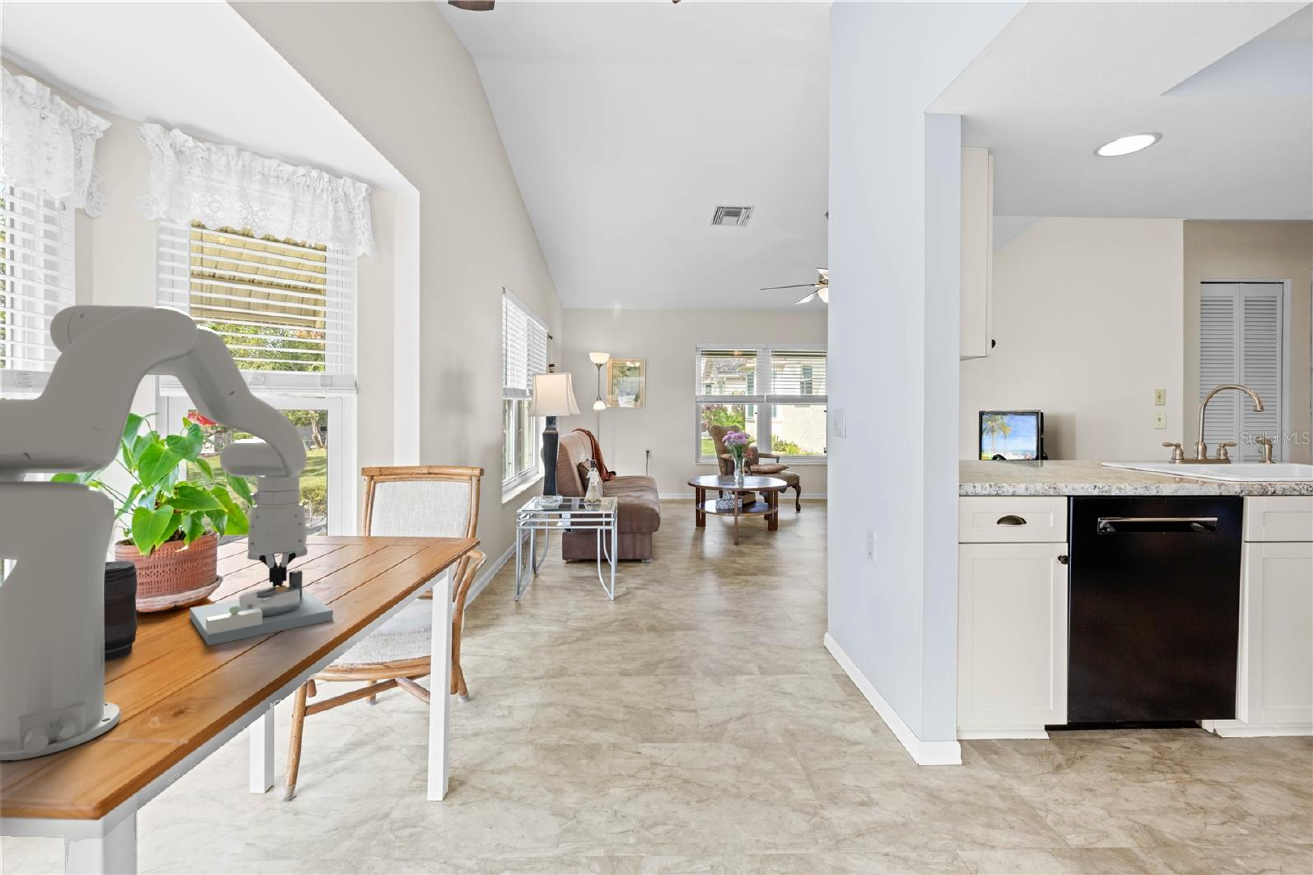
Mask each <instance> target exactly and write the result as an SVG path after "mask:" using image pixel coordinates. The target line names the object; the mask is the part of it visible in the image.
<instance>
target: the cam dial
mask: <svg viewBox="0 0 1313 875" xmlns="http://www.w3.org/2000/svg"><path fill="white" fill-rule="evenodd" d="M302 589H303V570H291V571H289V572H288V586H287V585H286V584H285V585H283V584H282V586H276V587H273V586H272V587H265V588H258V589H255V590H250V591H247V592H245V593H242V594H240V595H239V597H238V600H239V607H240V611H246V610H252V609H257V608H259V609H260V610H262V617H263V616H272V615H278V614H282V613H286V612H289V611H292V610H295V609H296V608H298V607H299V606H300V597H301V596H302ZM240 611H239V612H240Z"/></svg>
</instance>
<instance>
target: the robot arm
mask: <svg viewBox="0 0 1313 875" xmlns="http://www.w3.org/2000/svg"><path fill="white" fill-rule="evenodd" d="M49 334H50V338H51V341H52V343H53V344H54V346H55V347H56V348H57V350H58V351H59V352H60V355H59V357H58V358H57V360H56V361H55V363H54V366H53V369H52V371H51V374H50V375H49V378H48V381H47V383H46V386H45V387H44V389H43V391H42V393H41V395H40V396H38V397H37V398H33V399H29V398H27V399H21V398H20V399H19V398H17V399H16V398H14V399H13V398H11V399H10V398H7V399H0V560H8V561H9V560H11V561H15V562H16V563H15V564H14V567H13V568H12V569H11V571H10V572H9V574H8V575H7V577H6V578H5V579H4V581H3V582H2V584H1V585H0V760H12V761H19V760H27V759H32V758H37V757H41V756H46V755H50V754H53V753H57V752H60V751H64V750H67V749H70V748H73V747H76V746H78V745H81V744H84V743H85V742H88V741H91V740H93V739H95V738H97V737H99V736H101V735H103V734H105V733H107V732H108V731H109V730H111V729H112V728H113V727H115V725H117V724H118V723H119V721H120V719H121V716H122V715H121V708H120V706H118V705H117V704H115V703H111V702H107V701H106V702H105V661H104V574H105V563H106V562H107V557H108V556H107V555H108V551H109V547H110V546H109V545H110V542H111V539H112V535H113V530H114V526H115V525H114V524H115V517H116V511H115V507H114V504H113V502H112V500H111V499H110V497H109V496H108V495H107V494H105V492H104V491H102V490H100V489H99V488H97V487H95V486H91V485H88V484H85V483H79V482H73V481H58V480H57V481H55V480H53V481H51V480H50V481H49V480H48V481H47V480H43V481H42V480H39V481H38V480H37V481H35V480H31V481H30V480H25V477H26V476H27V474H77V473H78V474H84V473H92V472H98V471H100V470H103V469H105V468H107V467H108V466H109V465H111V464H112V463H113V461H114V459H115V458H116V456H117V454H118V452H119V450H120V447H121V443H122V440H123V437H124V433H125V431H126V427H127V423H128V419H129V416H130V413H131V409H132V406H133V402H134V399H135V397H136V393H137V390H138V388H139V385H140V384H141V381H142V380H143V379H144V377H146V376H148V375H149V376H173V377H176V378H177V380H178V381H179V383H180V384H181V386H182V387H183V389H184V391H185V392H186V393H187V396H188V397H189V399H190V400H191V401H192V403H193V405H194V406H195V409H196V410H197V412H198V413H199V414H200V415H201V416H202V417H203V418H205V419H207V420H209V421H211V422H214V423H216V424H218V425H221V426H224V427H227V428H231V429H234V430H237V431H240V432H243V433H246V434H249V435H252V436H254V437H255V438H258V439H237V440H234V441H232V442H230V443H228V444H226V445H225V446H224V447H223V449H222V450H221V451H220V455H219V463H220V466H221V468H222V470H223V471H224V472H225V473H227V474H228V475H230V476H231V477H232V476H233V477H236V478H245V479H246V478H252V479H253V478H256V487H257V488H256V491H255V492H253V493H249V494H250V495H251V498H252V500H251V501H253V502H256V505H252V508H251V510H250V515H249V524H248V528H249V527H250V531H249V530H248V536H247V551H248V553H247V556H246V557H247V559H248V560H252V561H260V562H262V564H264V565H265V566H266V567H267V568H268V569H269V572H268V574H269V575H268V578H269V579H268V582H269V583H272V587H280V586H282V585H283V584H284V582H286V581H287V580H288V577H287V574H288V573H287V572H288V569H287V566H288V565H289V564H290V563H291V562H292V561H293V560H294V559H296V558H301V557H304V556H307V555H308V553H309V551H308V547H307V523H306V522H307V521H306V514H305V508H304V507H305V506H304V504H303V503H301V502H300V474H301V473H303V471H304V470H305V468H306V465H307V458H308V457H307V451H306V448H305V445H304V443H303V440H302V438H301V436H300V434H299V431H298V430H297V428H296V426H295V424H294V423H293V422H292V421H291V420H290V419H289V417H287V416H286V415H285V414H283V412H280V411H279V410H277V409H276V408H275V407H273V406H272V405H271V404H270V403H268V402H266V401H264V400H262V399H261V398H260V397H257V396H256V395H254V394H253V393H252V392H251V390H250V389H249V387H248V384H247V382H246V381H245V379H244V377H243V375H242V373H241V371H240V370H239V367H238V365H237V364H236V361H235V359H234V358H233V355H232V354H231V352H230V350H229V348H228V346H227V344H226V343H225V341H224V339H223V338H222V336H221V335H220V334H219V333H218V332H216V331H215V330H213V329H211V328H208V327H204V326H201V325H197V323H196V320H194V318H193V317H192V316H190V315H189V314H188V313H186V312H184V311H182V310H180V309H178V308H174V307H170V306H152V305H151V306H143V305H141V306H140V305H103V304H102V305H100V304H99V305H98V304H97V305H95V304H86V305H84V304H83V305H81V304H80V305H79V304H77V305H73V306H72V305H71V306H68V307H65V308H63V309H61V310H60V311H58V313H56V314H55V315H54V316H53V318H52V320H51V322H50V325H49ZM234 468H237V469H234ZM24 480H25V481H24ZM249 494H248V498H249V497H250V495H249ZM277 554H281V555H282V556H281V561H280V562H279V564H278V562H276V555H277Z"/></svg>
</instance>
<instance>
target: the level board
mask: <svg viewBox="0 0 1313 875" xmlns="http://www.w3.org/2000/svg"><path fill="white" fill-rule="evenodd" d="M239 611H240V607H239V599H237V600H230V601H224V602H218V603H213V604H212V603H211V604H207V605H200V606H193V607H189V619H190V620H191V622H192V623H193V625H194V626H195V627H196V629H197V631H198V632H199V634H200V635H201V636H202V638H203V640H204V641H205V643H206V644H207V646H212V645H219V644H222V643H228V642H233V641H236V640H237V641H238V640H243V639H246V638H247V639H248V638H253V637H257V636H261V635H267V634H272V633H277V632H282V631H285V630H290V629H295V628H296V629H297V628H300V627H305V626H310V625H316V624H320V623H326V622H330V621H333V620H334V619H333V618H334V610H333V609H332V608H331V607H329V606H328V605H326V604H325V603H323V601H320V600H319V599H318V598H317V597H315V596H314V595H313V594H311V593H310V592H308V591H306V590H305V589H303V588H302V596H301V597H300V606H299V607H298V608H296V609H295V610H292V611H289V612H286V613H282V614H278V615H272V616H263V617H262V610H260V609H259V608H257V609H252V610H246V611H240V612H239Z"/></svg>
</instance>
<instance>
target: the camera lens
mask: <svg viewBox="0 0 1313 875" xmlns="http://www.w3.org/2000/svg"><path fill="white" fill-rule="evenodd" d="M137 570H138V569H137V568H136V564H135V562H133V561H130V560H129V561H127V560H116V561H114V560H113V561H106V563H105V574H104V662H106V661H111V660H116V659H120V658H122V657H125V656H127V655H129V654H130V653H131V652H132V651H133V644H134V643H135V642H136V639H137V638H136V637H137V636H136V635H137V632H138V622H137V621H138V620H137V610H136V593H137Z"/></svg>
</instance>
